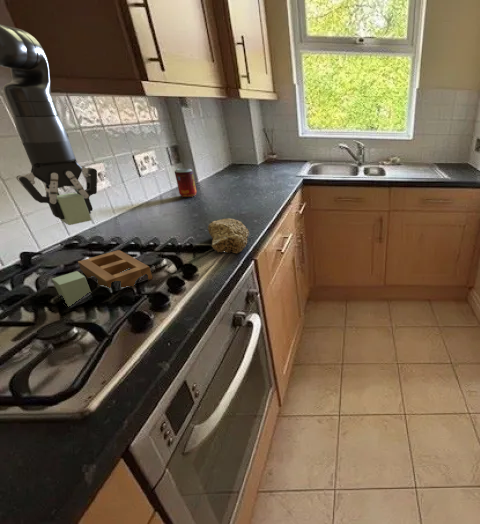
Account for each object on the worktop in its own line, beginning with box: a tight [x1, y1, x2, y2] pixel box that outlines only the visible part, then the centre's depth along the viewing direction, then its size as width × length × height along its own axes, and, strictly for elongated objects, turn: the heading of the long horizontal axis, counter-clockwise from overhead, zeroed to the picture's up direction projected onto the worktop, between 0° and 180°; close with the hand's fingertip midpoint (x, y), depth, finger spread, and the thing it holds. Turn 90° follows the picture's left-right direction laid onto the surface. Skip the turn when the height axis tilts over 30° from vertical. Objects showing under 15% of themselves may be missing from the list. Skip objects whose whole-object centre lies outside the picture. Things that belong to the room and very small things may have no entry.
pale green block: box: [51, 270, 92, 308], centre depth 72 cm, size 4×4×6 cm
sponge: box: [207, 217, 250, 254], centre depth 103 cm, size 13×8×20 cm
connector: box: [77, 249, 153, 288], centre depth 83 cm, size 9×16×4 cm, turn 56°
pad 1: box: [57, 192, 92, 226], centre depth 77 cm, size 4×4×6 cm
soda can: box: [174, 167, 198, 198], centre depth 148 cm, size 7×7×12 cm
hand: (74, 215), depth 78 cm, fingers closed on pad 1, 4 cm apart
